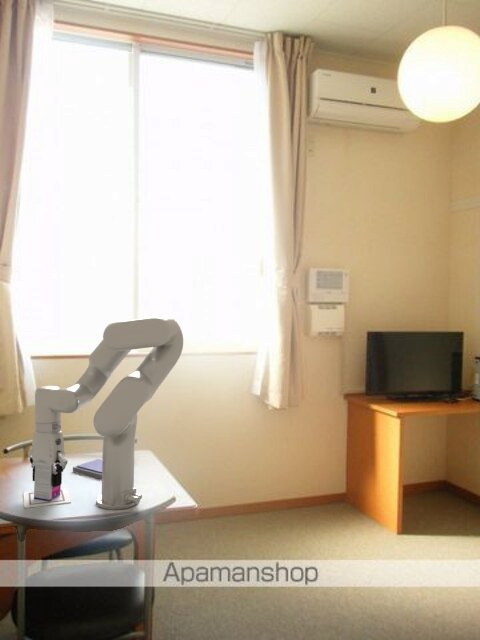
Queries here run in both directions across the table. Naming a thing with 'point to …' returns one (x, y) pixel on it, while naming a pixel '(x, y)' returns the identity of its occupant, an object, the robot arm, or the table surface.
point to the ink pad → (90, 469)
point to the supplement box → (44, 482)
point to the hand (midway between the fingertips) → (46, 482)
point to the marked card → (32, 502)
